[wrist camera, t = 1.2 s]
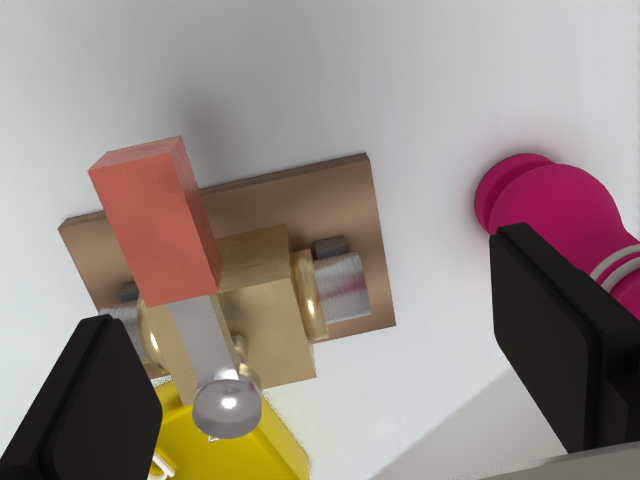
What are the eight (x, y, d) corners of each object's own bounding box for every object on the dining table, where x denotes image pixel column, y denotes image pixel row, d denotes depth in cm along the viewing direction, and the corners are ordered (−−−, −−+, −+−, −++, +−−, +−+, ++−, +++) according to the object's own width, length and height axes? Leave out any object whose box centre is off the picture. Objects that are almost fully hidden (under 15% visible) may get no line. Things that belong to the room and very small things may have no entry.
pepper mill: (584, 204, 36) (901, 416, 18) (496, 260, 37) (706, 509, 19) (542, 123, 33) (870, 280, 15) (448, 188, 34) (644, 403, 16)
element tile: (174, 523, 47) (165, 576, 43) (70, 423, 41) (47, 474, 36) (316, 463, 45) (321, 512, 41) (231, 349, 39) (226, 393, 35)
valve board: (66, 219, 33) (57, 228, 31) (365, 152, 32) (369, 159, 31) (137, 369, 38) (132, 383, 37) (391, 314, 38) (396, 325, 37)
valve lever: (268, 395, 26) (268, 431, 24) (209, 408, 26) (204, 445, 24) (182, 134, 20) (172, 151, 18) (104, 152, 20) (84, 171, 18)
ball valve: (107, 262, 33) (45, 363, 24) (346, 209, 32) (375, 291, 24) (144, 346, 36) (102, 463, 27) (363, 298, 36) (394, 399, 27)
